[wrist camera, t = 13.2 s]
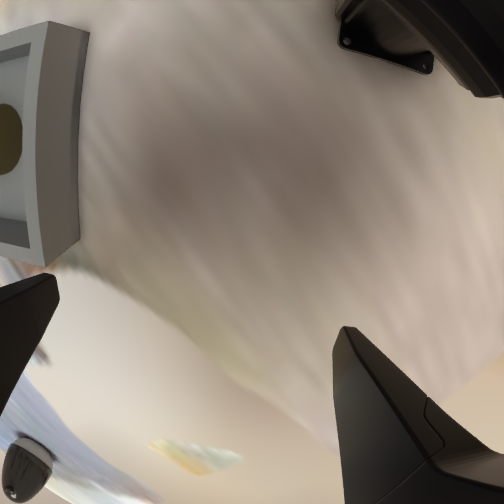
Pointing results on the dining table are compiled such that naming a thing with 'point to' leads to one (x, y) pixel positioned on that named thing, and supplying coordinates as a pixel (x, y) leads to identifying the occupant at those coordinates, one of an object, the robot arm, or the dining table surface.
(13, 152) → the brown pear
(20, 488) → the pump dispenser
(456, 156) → the dining table surface
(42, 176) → the tray
